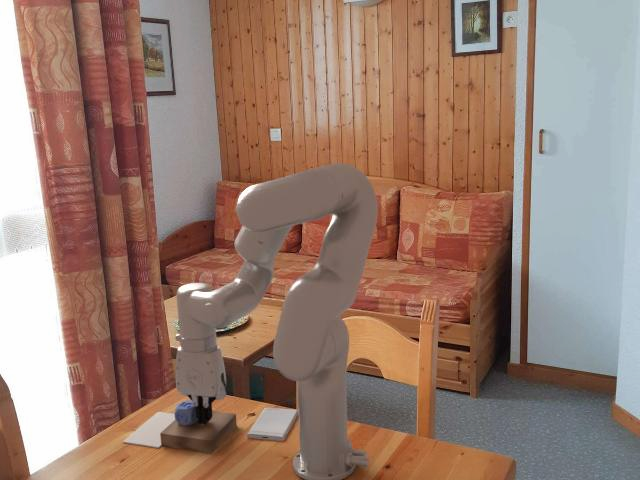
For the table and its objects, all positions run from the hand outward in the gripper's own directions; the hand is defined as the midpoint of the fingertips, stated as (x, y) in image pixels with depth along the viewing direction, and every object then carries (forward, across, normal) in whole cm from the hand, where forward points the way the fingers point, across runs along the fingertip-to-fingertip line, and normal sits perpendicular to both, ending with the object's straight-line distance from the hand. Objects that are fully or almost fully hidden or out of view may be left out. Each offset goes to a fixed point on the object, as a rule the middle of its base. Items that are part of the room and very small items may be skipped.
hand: (205, 421), depth 139 cm
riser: (+4, -2, 0) cm, 4 cm away
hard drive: (+4, +12, +8) cm, 16 cm away
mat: (+4, -12, 0) cm, 13 cm away
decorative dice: (+1, -4, 0) cm, 4 cm away
